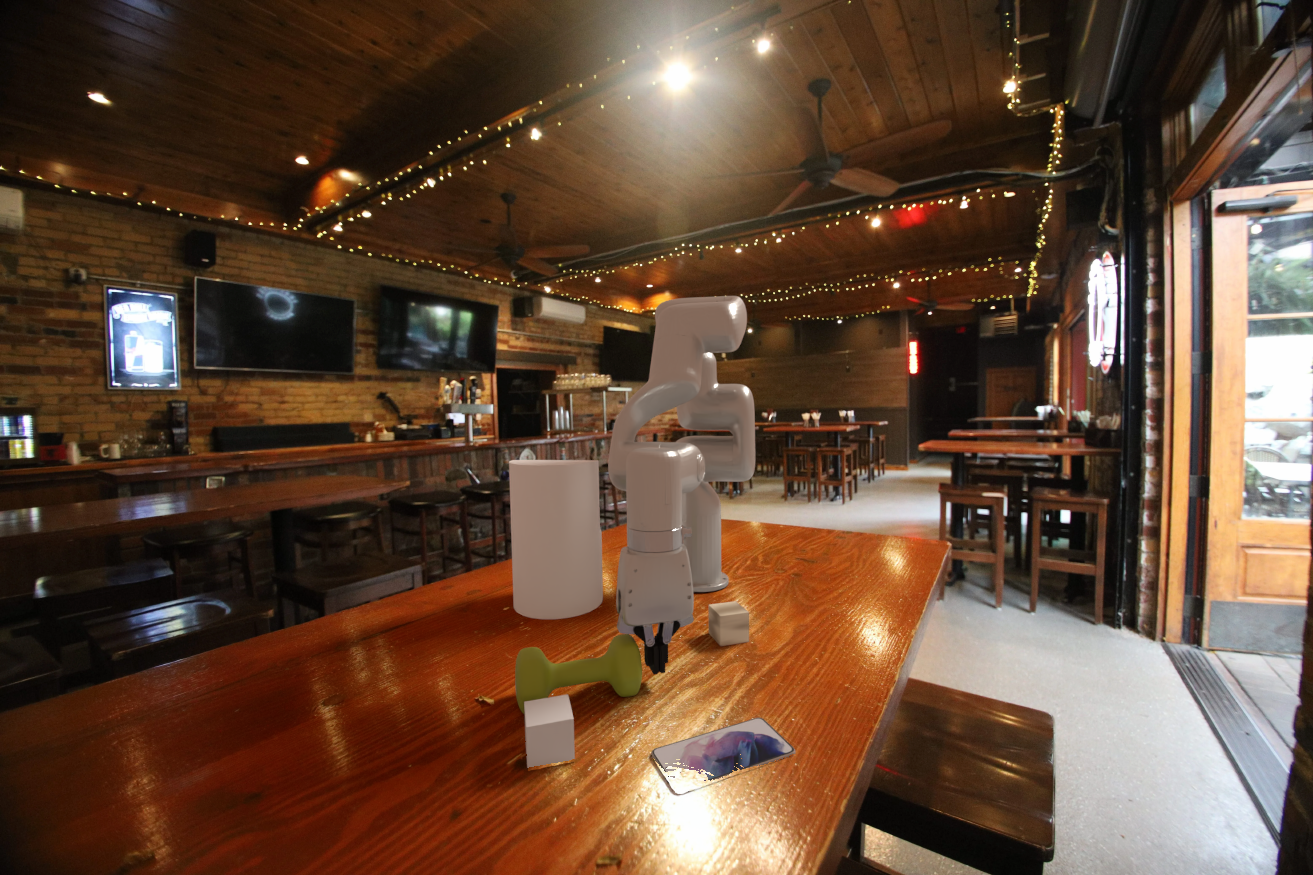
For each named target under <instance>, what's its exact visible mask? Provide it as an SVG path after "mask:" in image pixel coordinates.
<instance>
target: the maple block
mask: <svg viewBox="0 0 1313 875" xmlns="http://www.w3.org/2000/svg"><path fill="white" fill-rule="evenodd" d="M708 634H709V635H710V637H712V639H714V641H715V642H716V643H717V644H718V645H719V647H724V646H731V645H737V644H744V643H749V642H750V612H749V611H748V610H747V609H746V608H745V607H743V605H741V604H740V603H739V602H738V601H736V600H733V601H727V602H720V603H712V604H711V603H710V604H708Z"/></svg>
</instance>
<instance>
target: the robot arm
mask: <svg viewBox="0 0 1313 875" xmlns="http://www.w3.org/2000/svg"><path fill="white" fill-rule="evenodd" d="M746 307H747V306H746V304H745V302H744V300H743V299H742V298H741V297H740V296H737V295H721V296H703V297H702V296H699V297H697V296H696V297H695V296H694V297H680V298H675V299H673V298H672V299H668V300H665V301H662V302H661V303H660V304H658V305H657V307H656V308H655V313H654V320H655V329H654V331H655V332H654V336H653V337H654V338H653V344H652V352H651V359H650V360H651V361H650V366H649V374H648V381H647V382H646V383H645V384H644V385H643V386H641V387H640V388H639V389H638V390H637V391H636V392H635V393H634V394H632V396H631V397H630V398H629V399H628V401H626V403H625V404H624V406H623V407H622V408H621V410H620V411H619V413H618V414H617V416H616V419H615V421H614V425H613V429H612V433H611V440H610V447H609V453H608V462H607V464H608V466H607V469H608V478H609V479H610V482H611V484H612V485H613V487H615V488H616V489H618V490H620V491H624V492H626V493H625V494H626V546H623V547H622V548H621V549H620V554H619V560H618V568H617V579H616V593H615V594H616V597H615V598H616V599H615V601H616V602H615V604H616V605H615V606H616V611H617V614H618V620H617V623H616V628H617V630H618V632H619V633H620V634H629V635H635V636H636V637H637V638H639V639H640V640H641V641H642V642H643V646H644V647H643V650H644V651H643V654H644V658H643V659H644V664H645V666H646V667H649V669H650V671H651V672H652V674H653V675H658V674H659V673H660V674H666V664H668V663H669V644H670V643H671V642H672V639H673V636H674V635H675V634H676V633H677V632H678V630H679V629H680V628H683V627H686V626H688V625H691V624H692V623H693V622H694V620H695V619H694V614H693V613H694V604H695V603H694V601H695V600H694V597H695V596H694V593H707V592H708V593H709V592H715V591H719V590H722V589H725V588H726V587H727V586H728V585H729V576H728V575H727V574H726V573H725V572H722V504H721V503H722V502H721V499H720V497H719V494H717V492H716V490H715V489H714V488H713V486H712V485H711V484H710V483H712V482H733V483H734V482H735V483H736V482H740V483H741V482H746V481H749V480H751V478H753V475H754V473H755V468H756V427H755V426H756V423H755V422H756V421H755V420H756V418H755V417H756V416H755V401H754V396H753V393H752V391H751V389H750V387H748V386H747V385H745V384H742V383H741V384H740V383H719V382H718V377H717V376H718V372H717V371H718V370H717V359H716V356H715V355H714V353H715V354H716V353H732V352H735V351H737V350H738V349H739V348H740V345H741V344H742V341H743V338H744V336H745V333H746V329H747V326H748V324H747V323H748V312H747V308H746ZM675 408H676V415H677V416H676V417H677V420H678V423H679V425H680V426H681V427H682V428H683V429H685V430H691V431H729V432H730V433H731V434H732V435H729V436H728V435H690V436H689V435H688V436H683V437H681V438H679V439H677V440H676V441H673V442H671V441H670V442H669V441H668V442H667V441H665V442H664V441H635V439H636V437H637V434H638V433H639V431H640V429H642V427H643V426H644V425H645V424H646V423H648V422H649V421H650V420H652V419H654V418H655V417H657V416H659V415H660V416H661V415H662V414H663V413H666V412H668V411H670V410H672V409H675ZM656 624H657V630H656V632H657V633H656V635H655V634H654V630H653V625H656Z"/></svg>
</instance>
